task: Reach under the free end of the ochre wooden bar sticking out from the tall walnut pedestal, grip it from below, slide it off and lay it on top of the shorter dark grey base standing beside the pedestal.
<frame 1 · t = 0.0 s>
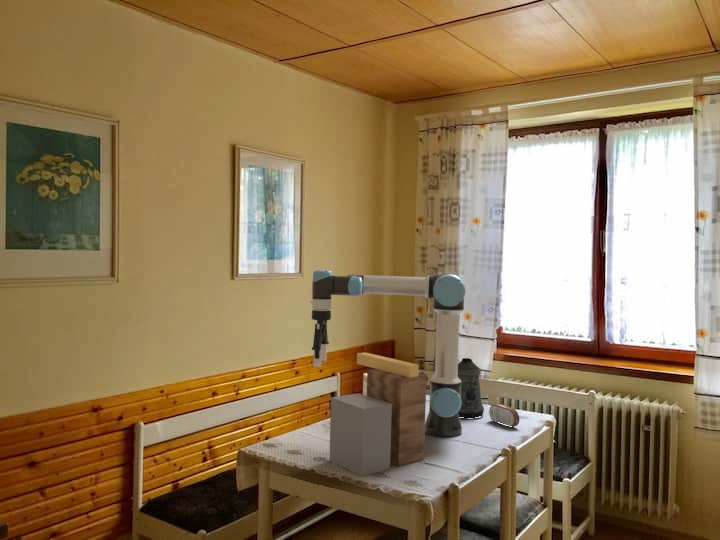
hand: (320, 363, 243), 28 cm above the table, tool pointing down, fingers open, 13 cm apart
walnut pedestal: (394, 455, 221), on the table
coffeecake box: (373, 422, 265), on the table
grey base: (359, 464, 211), on the table
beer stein: (463, 414, 281), on the table
coffee maker: (414, 402, 301), on the table
tin: (503, 425, 265), on the table
ochre bar: (386, 369, 225), point 30 cm above the table, touching walnut pedestal
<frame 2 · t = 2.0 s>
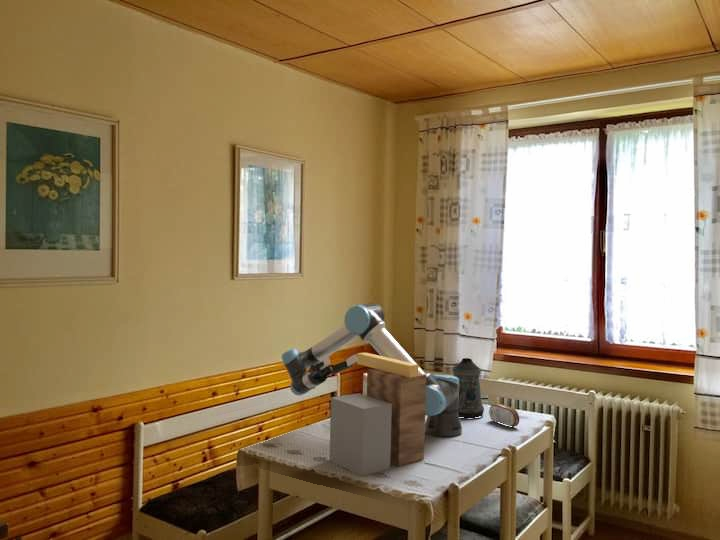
hand: (343, 358, 245), 30 cm above the table, tool pointing upward, fingers open, 13 cm apart
nothing on the table moved.
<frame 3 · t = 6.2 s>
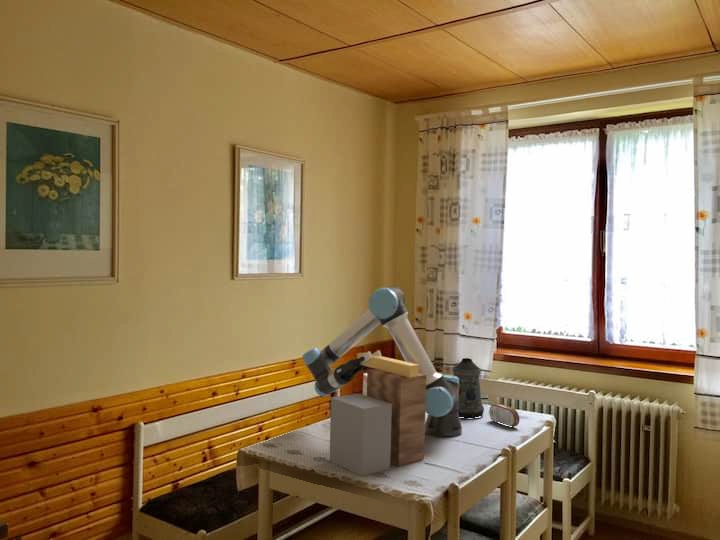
hand: (375, 354, 229), 35 cm above the table, tool pointing upward, fingers closed on ochre bar, 4 cm apart
ochre bar: (386, 369, 225), point 30 cm above the table, touching gripper, walnut pedestal
everything else where it was.
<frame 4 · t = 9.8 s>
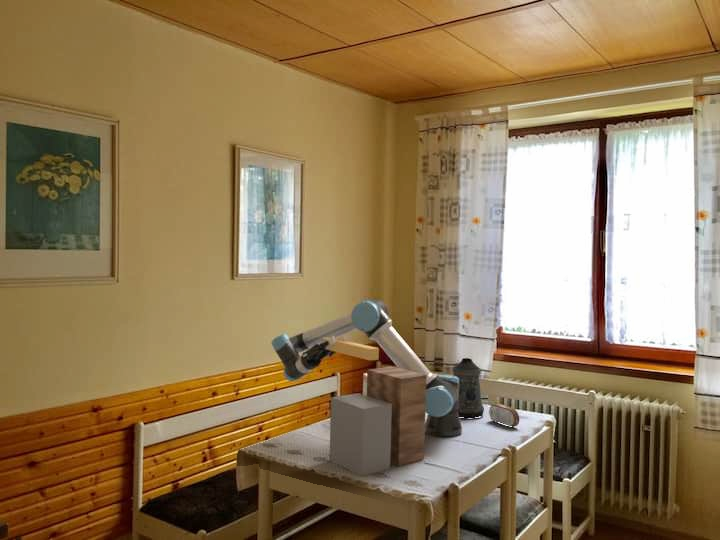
hand: (339, 338, 233), 40 cm above the table, tool pointing upward, fingers closed on ochre bar, 4 cm apart
ochre bar: (349, 353, 228), point 35 cm above the table, touching gripper
everything else where it was.
when the fingers open (28 cm above the table, at t = 13.6 s): ochre bar drops 1 cm, resting on grey base.
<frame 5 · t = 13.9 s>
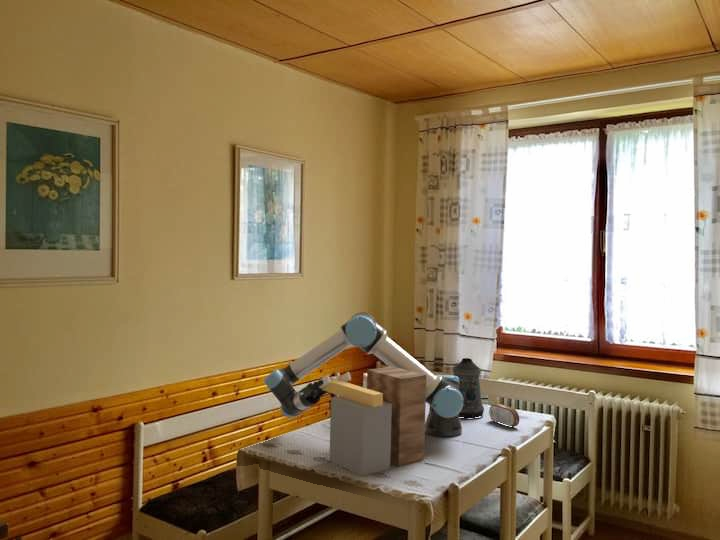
hand: (339, 377, 220), 28 cm above the table, tool pointing upward, fingers open, 8 cm apart
ochre bar: (350, 397, 215), point 22 cm above the table, touching grey base
everything else where it was.
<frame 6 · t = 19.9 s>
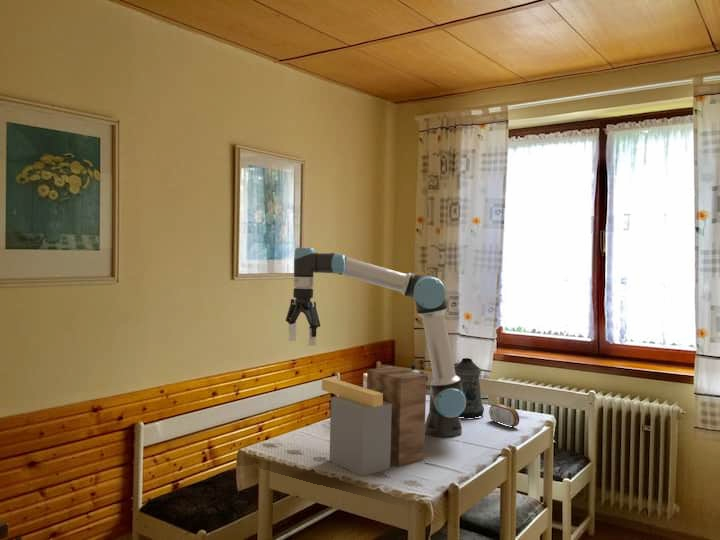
hand: (302, 343, 238), 37 cm above the table, tool pointing down, fingers open, 13 cm apart
at the end: ochre bar 5.6 cm from the grey base (horizontally); ochre bar point 22.0 cm above the table; the gripper is holding nothing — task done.
